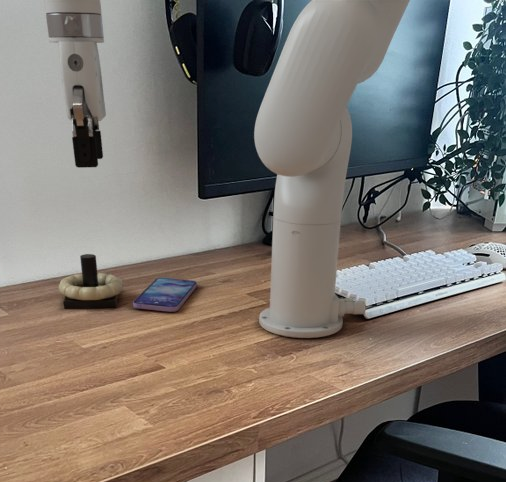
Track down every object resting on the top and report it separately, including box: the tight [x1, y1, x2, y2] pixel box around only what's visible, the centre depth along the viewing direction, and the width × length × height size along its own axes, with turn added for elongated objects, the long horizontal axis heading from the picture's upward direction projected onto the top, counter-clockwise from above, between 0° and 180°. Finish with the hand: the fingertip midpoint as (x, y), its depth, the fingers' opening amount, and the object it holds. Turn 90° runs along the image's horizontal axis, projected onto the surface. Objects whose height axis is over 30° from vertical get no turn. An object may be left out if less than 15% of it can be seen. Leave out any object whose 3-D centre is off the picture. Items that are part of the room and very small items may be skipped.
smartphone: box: [132, 277, 198, 312], centre depth 114 cm, size 7×1×15 cm
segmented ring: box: [58, 272, 124, 300], centre depth 111 cm, size 10×10×2 cm
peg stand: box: [63, 253, 119, 310], centre depth 110 cm, size 8×8×7 cm
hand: (90, 162), depth 104 cm, fingers open, 9 cm apart
